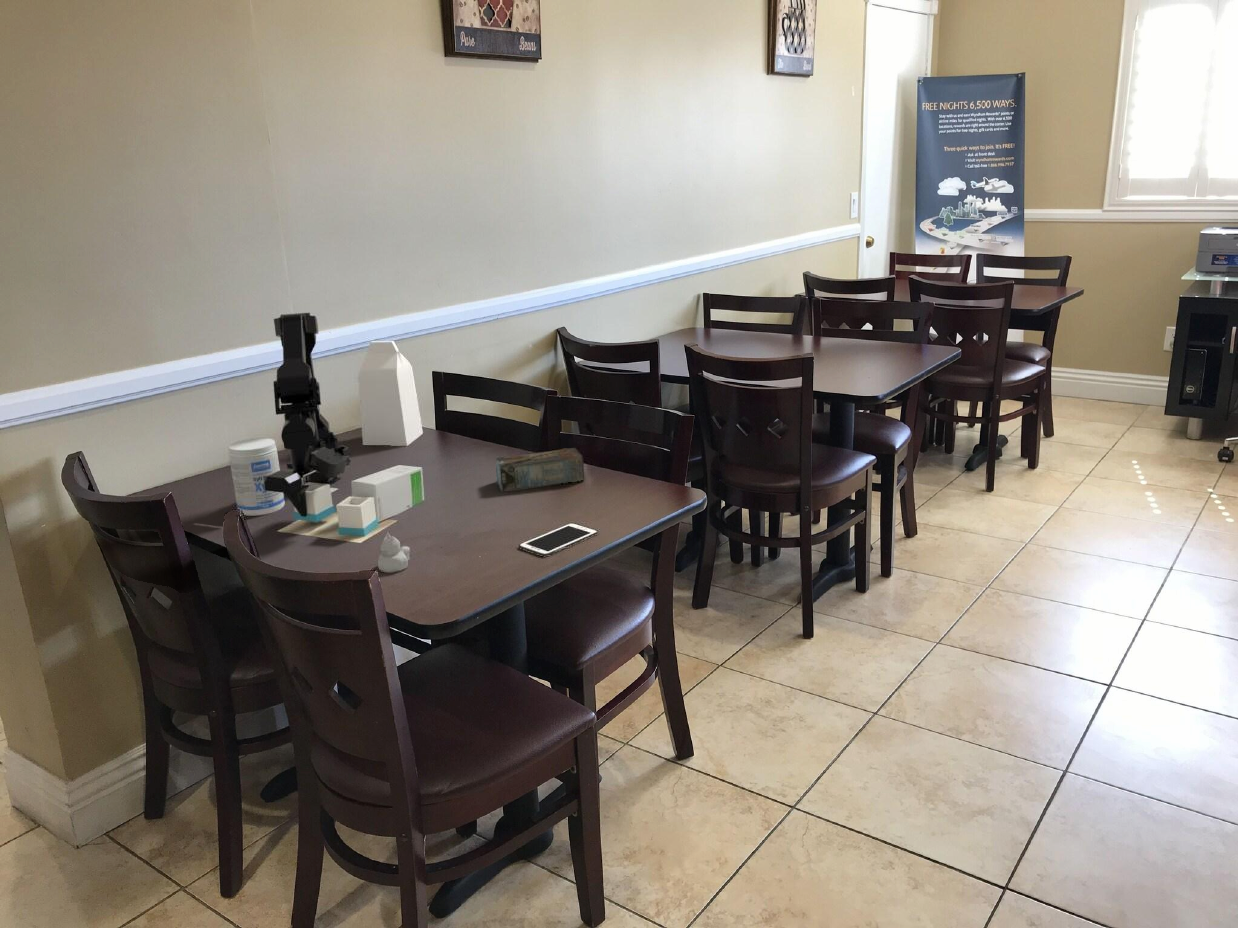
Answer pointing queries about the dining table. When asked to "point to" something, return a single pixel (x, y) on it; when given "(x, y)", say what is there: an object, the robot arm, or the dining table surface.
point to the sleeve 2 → (356, 516)
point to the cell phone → (558, 539)
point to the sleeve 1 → (317, 502)
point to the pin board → (330, 529)
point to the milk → (388, 397)
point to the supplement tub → (254, 475)
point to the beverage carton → (539, 469)
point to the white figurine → (393, 555)
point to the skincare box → (391, 489)
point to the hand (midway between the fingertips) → (313, 511)
